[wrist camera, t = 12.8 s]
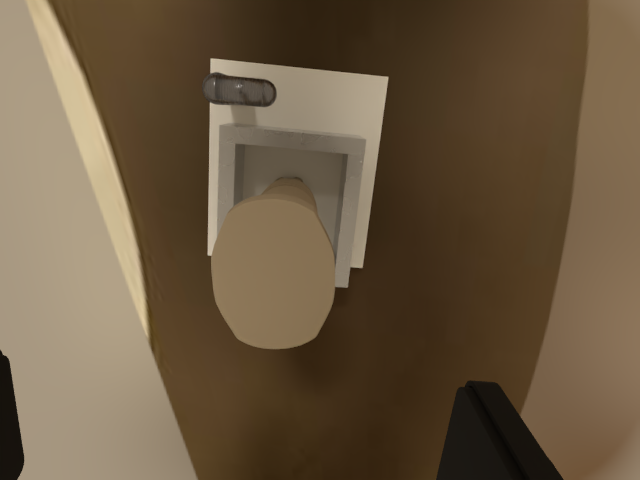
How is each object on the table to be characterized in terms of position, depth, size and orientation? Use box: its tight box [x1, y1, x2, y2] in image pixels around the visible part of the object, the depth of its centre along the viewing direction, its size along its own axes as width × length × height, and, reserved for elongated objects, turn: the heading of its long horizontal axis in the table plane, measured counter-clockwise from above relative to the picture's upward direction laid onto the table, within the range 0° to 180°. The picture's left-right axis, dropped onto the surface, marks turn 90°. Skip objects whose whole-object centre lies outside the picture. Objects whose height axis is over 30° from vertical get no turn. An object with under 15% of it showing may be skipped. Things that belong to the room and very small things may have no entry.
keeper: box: [202, 58, 388, 288], centre depth 27 cm, size 14×12×9 cm
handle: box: [211, 177, 335, 349], centre depth 24 cm, size 5×6×15 cm
